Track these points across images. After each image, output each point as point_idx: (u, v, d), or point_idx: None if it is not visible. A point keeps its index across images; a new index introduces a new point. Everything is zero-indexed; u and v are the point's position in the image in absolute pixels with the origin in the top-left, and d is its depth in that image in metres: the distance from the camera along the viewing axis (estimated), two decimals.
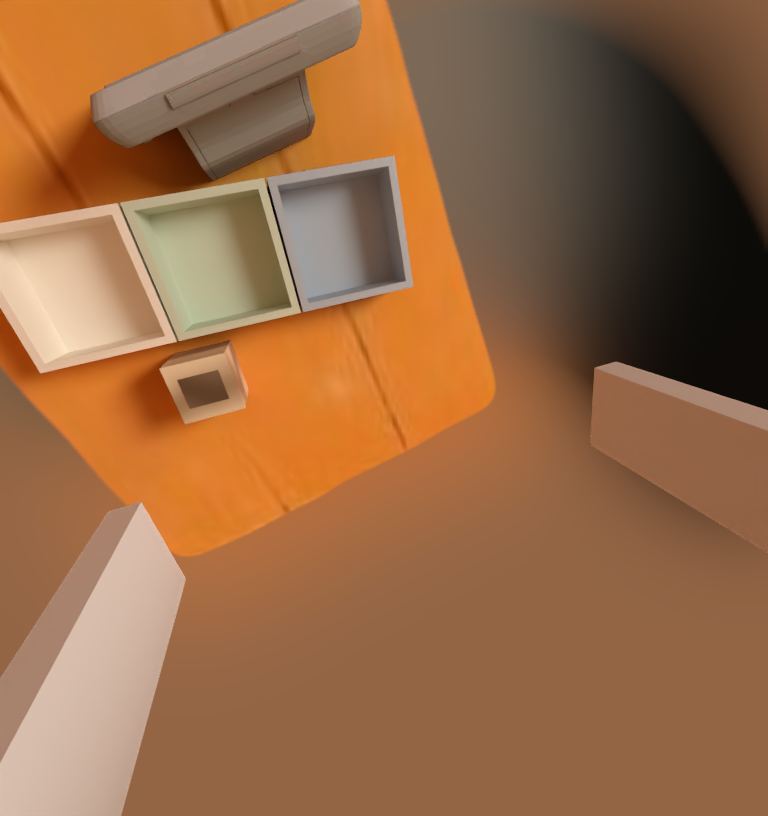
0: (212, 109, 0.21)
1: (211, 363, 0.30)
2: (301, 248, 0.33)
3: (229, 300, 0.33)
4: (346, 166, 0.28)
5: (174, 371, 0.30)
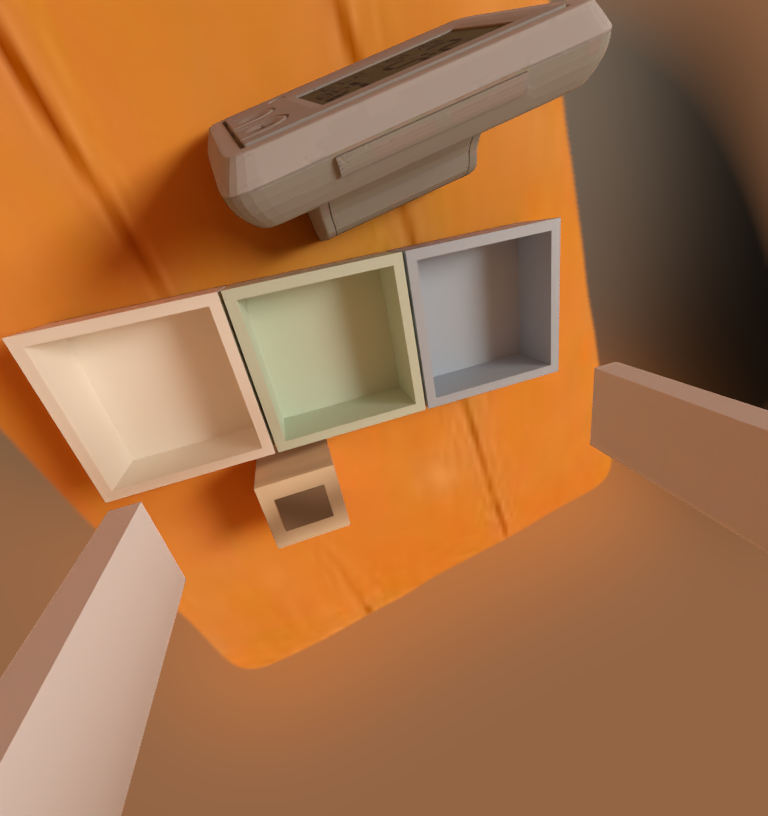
0: (387, 174, 0.14)
1: (317, 477, 0.24)
2: None
3: (329, 388, 0.26)
4: (502, 233, 0.22)
5: (272, 490, 0.23)
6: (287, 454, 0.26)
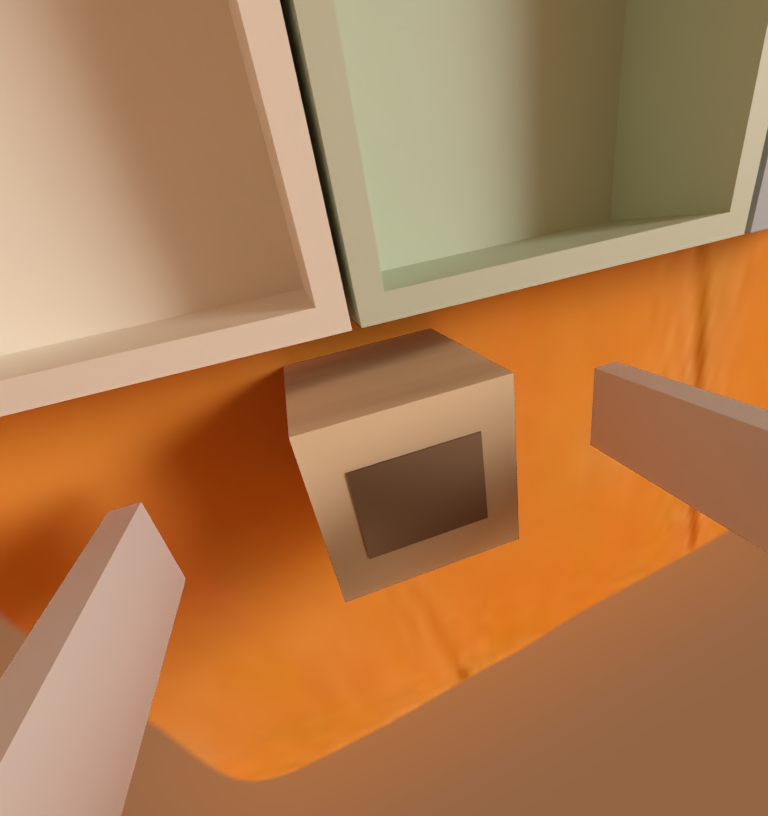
0: None
1: (466, 410, 0.08)
2: None
3: (463, 205, 0.11)
4: None
5: (342, 444, 0.08)
6: (361, 365, 0.11)
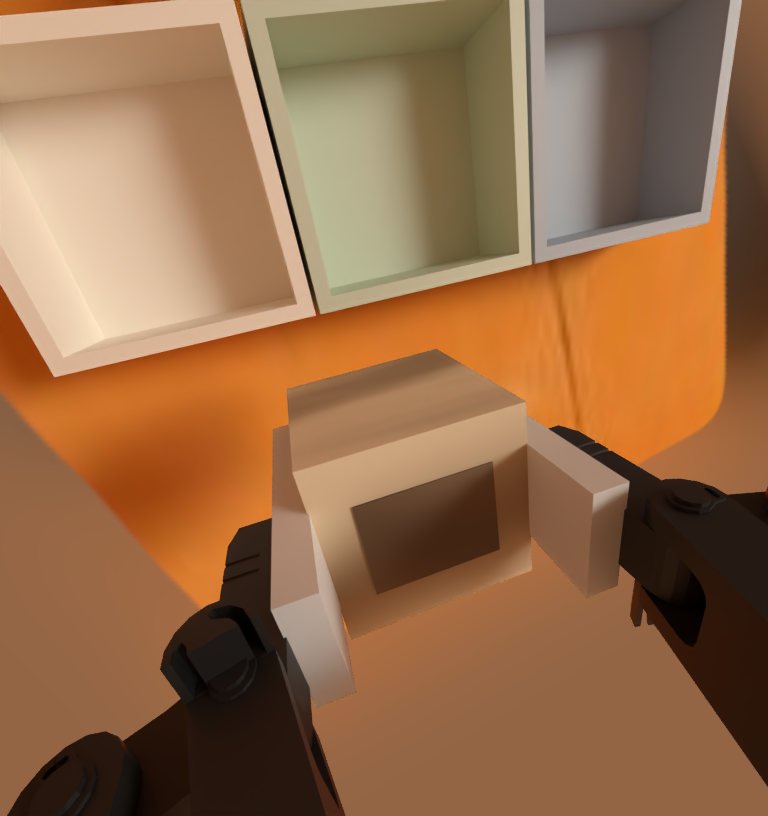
0: None
1: (476, 440, 0.08)
2: None
3: (385, 248, 0.19)
4: None
5: (347, 479, 0.07)
6: (366, 390, 0.10)
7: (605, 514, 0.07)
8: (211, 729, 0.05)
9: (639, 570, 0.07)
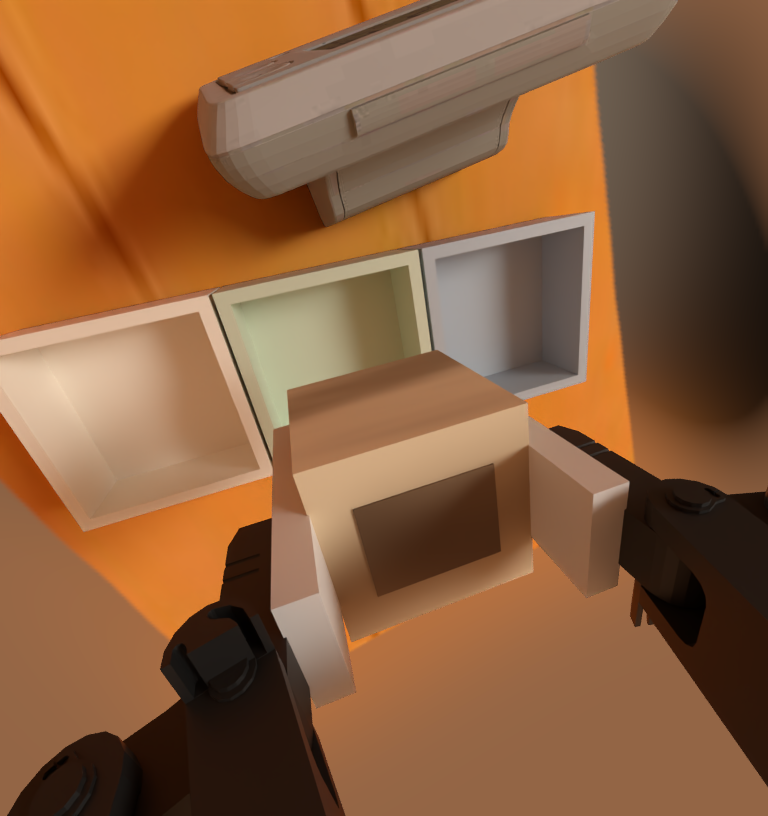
0: (412, 138, 0.12)
1: (478, 442, 0.08)
2: None
3: None
4: (530, 228, 0.19)
5: (348, 480, 0.07)
6: (367, 391, 0.10)
7: (605, 514, 0.07)
8: (211, 729, 0.05)
9: (639, 570, 0.07)
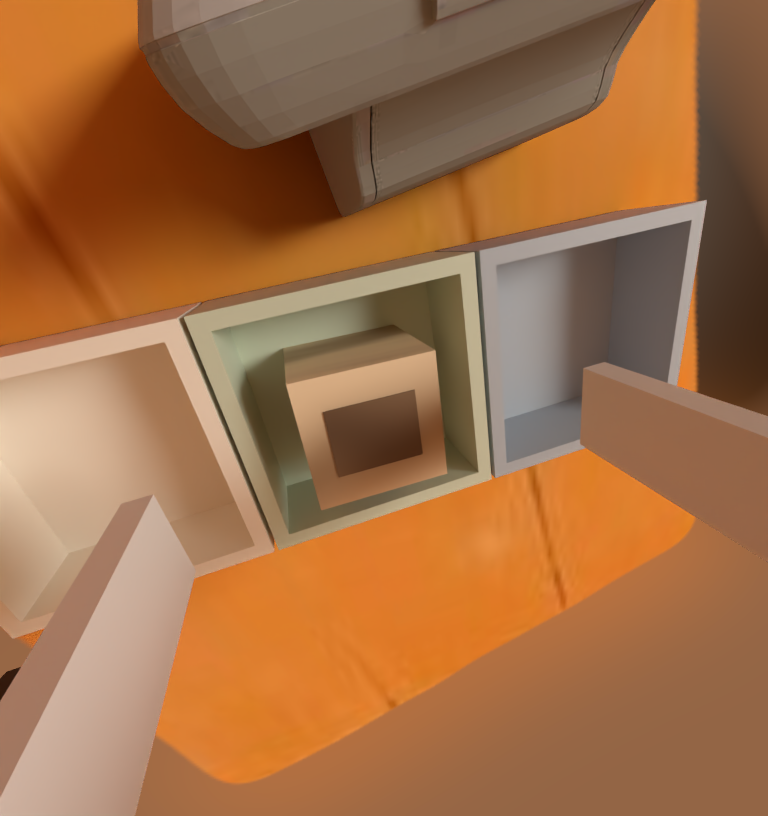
0: (522, 43, 0.07)
1: (403, 374, 0.13)
2: None
3: None
4: (623, 223, 0.14)
5: (320, 392, 0.12)
6: (338, 347, 0.15)
7: None
8: None
9: None
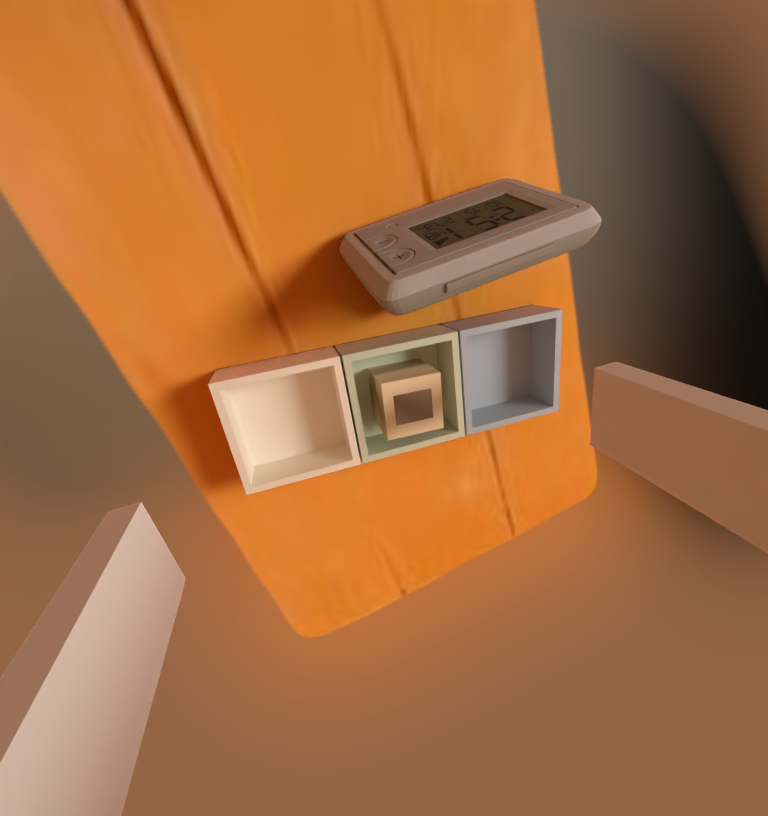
0: (469, 289, 0.24)
1: (427, 381, 0.30)
2: None
3: None
4: (523, 319, 0.32)
5: (393, 387, 0.30)
6: (395, 369, 0.33)
7: None
8: None
9: None
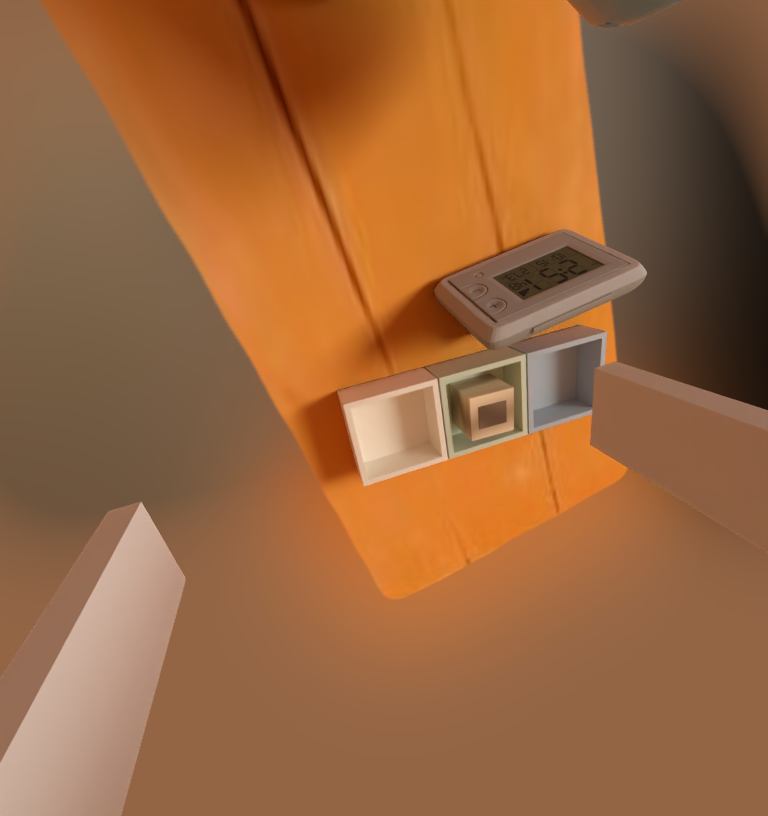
0: (546, 328, 0.33)
1: (503, 395, 0.39)
2: None
3: None
4: (576, 341, 0.40)
5: (478, 401, 0.38)
6: (474, 384, 0.41)
7: None
8: None
9: None
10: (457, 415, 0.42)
